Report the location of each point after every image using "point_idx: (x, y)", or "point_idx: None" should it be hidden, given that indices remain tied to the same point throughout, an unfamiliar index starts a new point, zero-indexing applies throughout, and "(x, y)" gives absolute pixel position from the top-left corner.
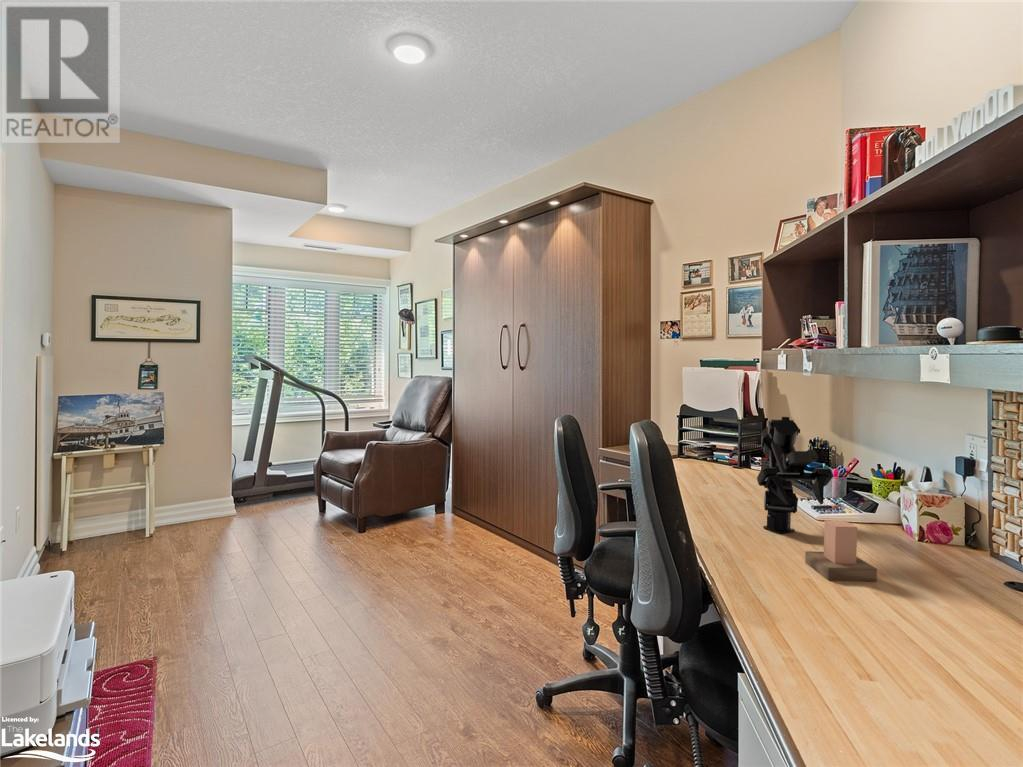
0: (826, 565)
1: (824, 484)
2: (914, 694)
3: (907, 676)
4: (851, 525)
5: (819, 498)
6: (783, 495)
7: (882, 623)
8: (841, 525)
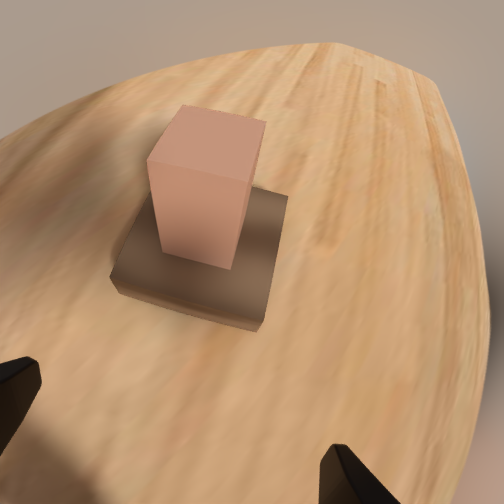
0: (282, 207)
1: None
2: (356, 66)
3: (347, 72)
4: (187, 116)
5: (13, 395)
6: (380, 482)
7: (302, 106)
8: (230, 123)
